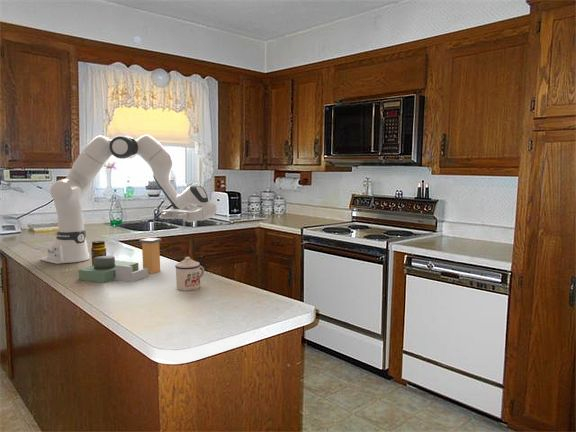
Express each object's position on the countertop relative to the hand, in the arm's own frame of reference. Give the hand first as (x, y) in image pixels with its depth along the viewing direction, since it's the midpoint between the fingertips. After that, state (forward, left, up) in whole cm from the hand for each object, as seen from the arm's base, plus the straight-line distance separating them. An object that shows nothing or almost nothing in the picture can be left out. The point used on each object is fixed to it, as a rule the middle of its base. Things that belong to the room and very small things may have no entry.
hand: (169, 216), depth 200 cm
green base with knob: (-8, -24, -23) cm, 34 cm away
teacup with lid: (+29, -25, -23) cm, 45 cm away
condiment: (-27, -17, -23) cm, 39 cm away
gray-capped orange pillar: (-1, -12, -23) cm, 26 cm away
